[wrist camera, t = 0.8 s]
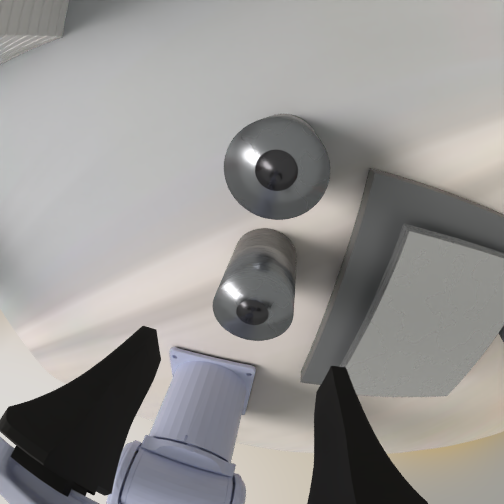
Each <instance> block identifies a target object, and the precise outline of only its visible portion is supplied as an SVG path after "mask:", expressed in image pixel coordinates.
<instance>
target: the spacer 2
mask: <svg viewBox="0 0 504 504" xmlns="http://www.w3.org/2000/svg"><path fill="white" fill-rule="evenodd" d="M295 278H296V250H295V248H294V245H293V244H292V242H291V241H290V240H289V239H288V238H287V237H286V236H285V235H284V234H282V233H280V232H278V231H276V230H272V229H266V228H261V229H255V230H252V231H250V232H248V233H246V234H245V235H244V236H243V237H242V238H241V239H240V240H239V241H238V243H237V245H236V248H235V250H234V252H233V255H232V257H231V259H230V262H229V264H228V266H227V269H226V271H225V273H224V276H223V278H222V280H221V283H220V285H219V288H218V290H217V292H216V295H215V297H214V300H213V311H214V315H215V317H216V319H217V321H218V322H219V323H220V324H221V326H222V327H223V328H225V329H226V330H227V331H228V332H230V333H232V334H233V335H235V336H238V337H240V338H243V339H247V340H255V341H262V340H269V339H272V338H275V337H277V336H279V335H281V334H283V333H284V332H285V331H286V330H287V329H288V328H289V326H290V325H291V323H292V320H293V313H294V297H295Z"/></svg>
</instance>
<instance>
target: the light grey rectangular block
mask: <svg viewBox="0 0 504 504" xmlns="http://www.w3.org/2000/svg"><path fill="white" fill-rule="evenodd" d="M68 4H69V0H0V65H1V64H3V63H5V62H7V61H9V60H11V59H13V58H15V57H17V56H19V55H21V54H23V53H25V52H27V51H30V50H32V49H34V48H36V47H39V46H41V45H44V44H46V43H49V42H51V41H54V40H56V39H59V38H62V36H63V30H64V24H65V19H66V14H67V9H68Z"/></svg>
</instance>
